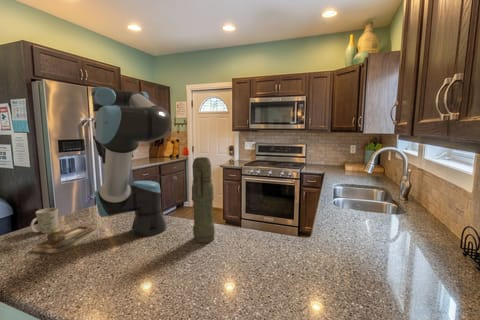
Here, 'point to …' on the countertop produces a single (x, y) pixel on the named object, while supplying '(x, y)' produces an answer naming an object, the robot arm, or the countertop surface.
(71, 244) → the tuner board
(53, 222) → the mug
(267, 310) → the countertop surface
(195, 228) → the green carved statue
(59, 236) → the slider knob
